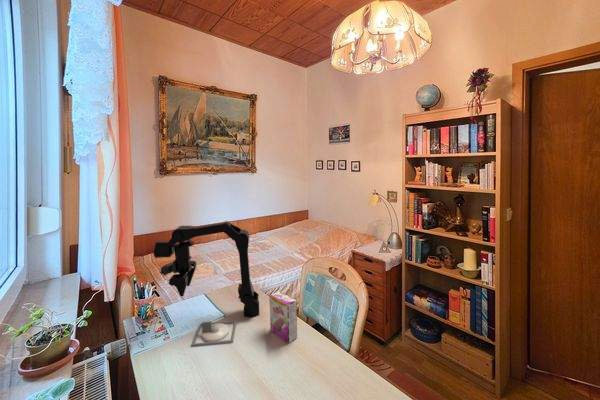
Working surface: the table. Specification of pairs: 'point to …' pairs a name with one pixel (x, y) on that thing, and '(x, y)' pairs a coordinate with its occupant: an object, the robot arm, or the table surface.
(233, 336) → the panel
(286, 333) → the candy bar box
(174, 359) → the table surface
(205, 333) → the dial
